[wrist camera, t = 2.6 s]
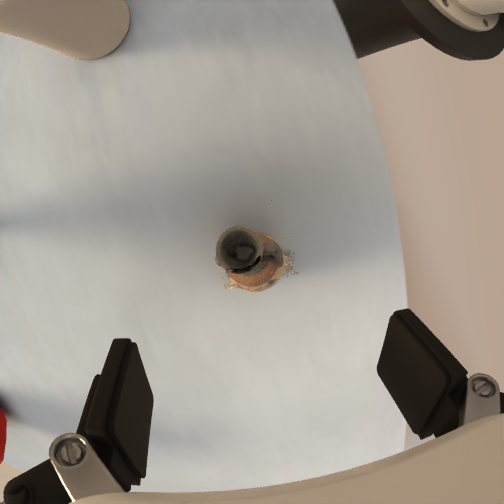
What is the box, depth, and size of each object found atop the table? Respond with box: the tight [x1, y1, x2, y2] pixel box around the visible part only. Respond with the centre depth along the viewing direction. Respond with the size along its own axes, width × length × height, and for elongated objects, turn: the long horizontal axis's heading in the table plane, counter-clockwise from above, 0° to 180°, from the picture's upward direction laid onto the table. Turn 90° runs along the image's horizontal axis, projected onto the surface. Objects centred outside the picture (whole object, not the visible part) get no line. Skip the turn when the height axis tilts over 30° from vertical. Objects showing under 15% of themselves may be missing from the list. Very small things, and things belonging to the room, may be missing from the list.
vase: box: [209, 200, 298, 292], centre depth 18 cm, size 5×5×6 cm
